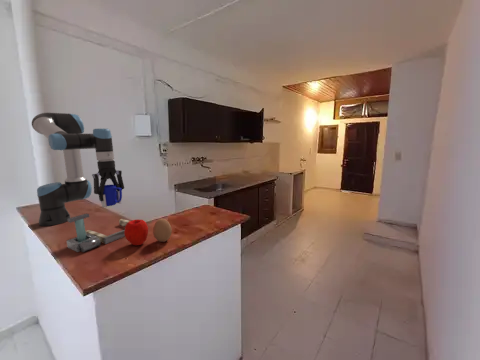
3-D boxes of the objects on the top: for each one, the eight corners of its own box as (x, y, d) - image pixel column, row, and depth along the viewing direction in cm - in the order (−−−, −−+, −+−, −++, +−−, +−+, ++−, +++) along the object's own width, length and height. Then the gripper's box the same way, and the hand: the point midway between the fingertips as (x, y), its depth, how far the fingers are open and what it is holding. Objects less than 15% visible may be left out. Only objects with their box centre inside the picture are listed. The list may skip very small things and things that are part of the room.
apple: (125, 251, 101) (122, 224, 98) (126, 242, 110) (123, 217, 107) (149, 246, 104) (147, 221, 102) (149, 238, 113) (146, 214, 111)
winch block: (67, 247, 106) (66, 239, 105) (88, 240, 113) (87, 232, 112) (82, 254, 99) (80, 245, 98) (103, 245, 107) (102, 237, 106)
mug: (117, 207, 113) (114, 188, 112) (96, 206, 116) (93, 187, 114) (128, 203, 121) (126, 184, 120) (109, 202, 124) (106, 184, 122)
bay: (85, 236, 117) (85, 231, 117) (122, 223, 134) (122, 218, 134) (105, 244, 108) (105, 238, 108) (142, 229, 125) (142, 224, 125)
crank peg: (71, 246, 104) (66, 218, 102) (90, 239, 111) (85, 213, 109) (75, 248, 103) (70, 219, 100) (93, 241, 109) (89, 214, 107)
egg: (163, 246, 104) (161, 222, 102) (150, 243, 108) (147, 220, 106) (176, 239, 112) (174, 217, 110) (163, 236, 115) (161, 214, 113)
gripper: (88, 162, 104) (95, 211, 108) (128, 158, 121) (133, 201, 125) (80, 162, 108) (87, 209, 112) (120, 158, 124) (125, 199, 128)
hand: (111, 204), depth 118 cm, fingers closed on mug, 7 cm apart
